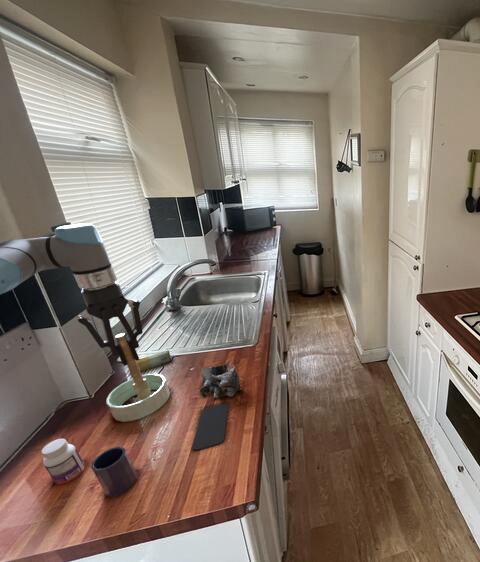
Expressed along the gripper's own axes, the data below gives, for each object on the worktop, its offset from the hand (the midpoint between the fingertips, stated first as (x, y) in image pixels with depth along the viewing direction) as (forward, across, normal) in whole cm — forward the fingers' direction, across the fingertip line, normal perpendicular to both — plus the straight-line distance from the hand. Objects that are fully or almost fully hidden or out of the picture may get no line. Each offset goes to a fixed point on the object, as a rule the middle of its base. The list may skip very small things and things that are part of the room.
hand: (130, 360), depth 87 cm
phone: (+16, +9, -24) cm, 31 cm away
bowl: (+16, -1, +1) cm, 16 cm away
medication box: (+16, +7, +20) cm, 27 cm away
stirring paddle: (+13, 0, 0) cm, 13 cm away
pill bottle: (+16, -19, -12) cm, 28 cm away
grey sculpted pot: (+16, +18, -11) cm, 27 cm away
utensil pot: (+16, -12, -25) cm, 32 cm away
